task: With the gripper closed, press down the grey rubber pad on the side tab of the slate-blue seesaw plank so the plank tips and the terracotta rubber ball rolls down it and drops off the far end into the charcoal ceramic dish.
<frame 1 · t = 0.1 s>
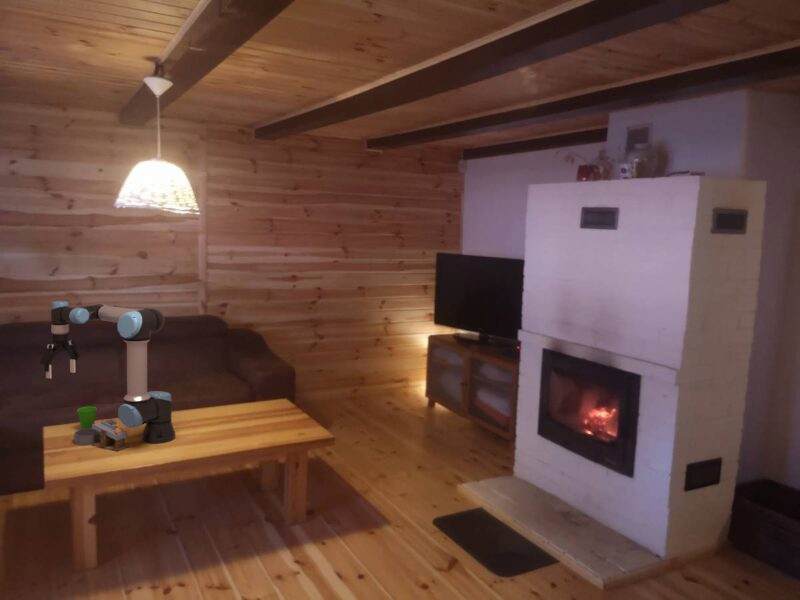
hand: (61, 375, 311), 28 cm above the table, fingers open, 13 cm apart
cup: (87, 430, 315), on the table
ball: (118, 431, 293), point 8 cm above the table, touching lever
fulcrum: (109, 446, 296), on the table
lever: (114, 427, 297), point 8 cm above the table, hinge at -12.0°, touching ball
dish: (87, 441, 301), on the table
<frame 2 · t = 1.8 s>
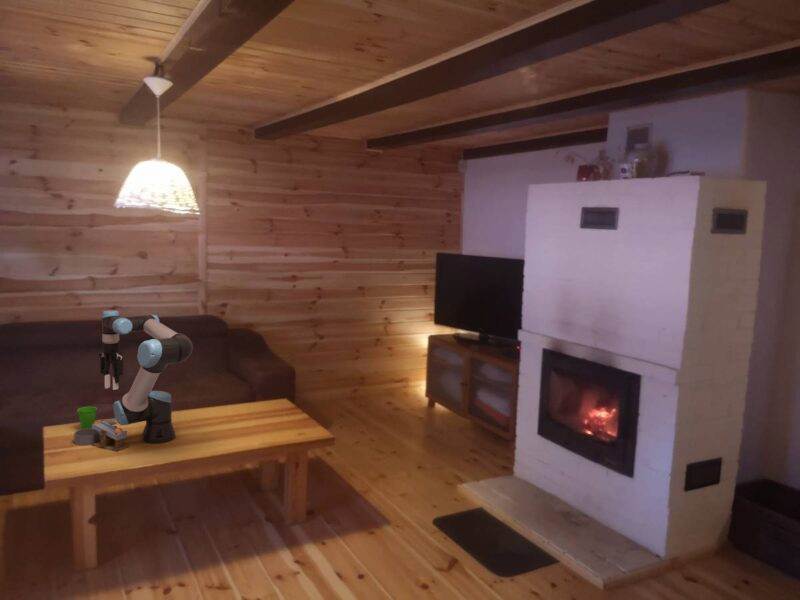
hand: (111, 388, 311), 23 cm above the table, fingers open, 4 cm apart
nothing on the table moved.
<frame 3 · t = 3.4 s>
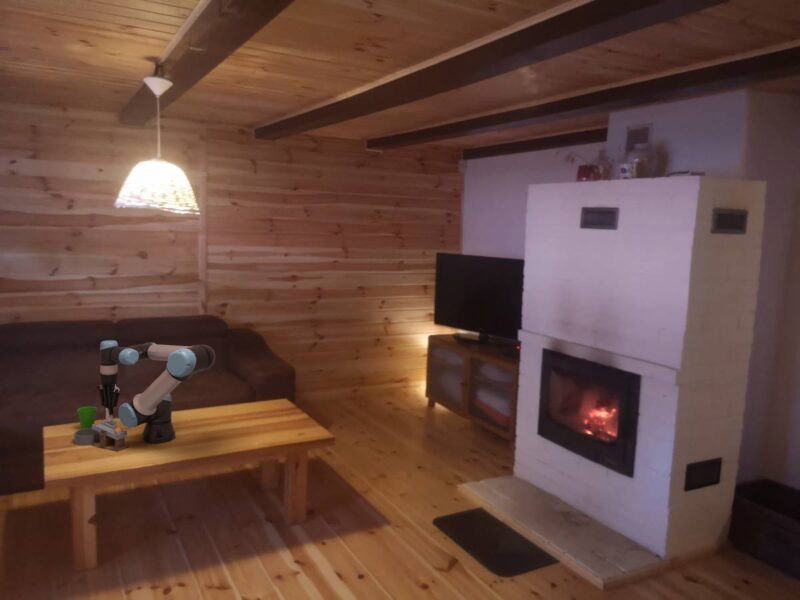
hand: (109, 420, 303), 9 cm above the table, fingers closed
lever: (114, 427, 297), point 8 cm above the table, hinge at -10.1°, touching ball, gripper
everything else where it was.
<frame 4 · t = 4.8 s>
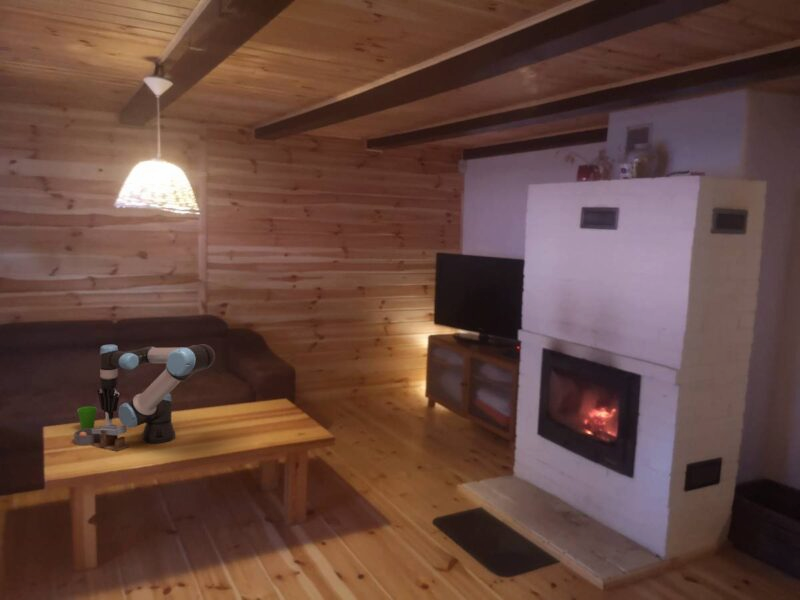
hand: (108, 424, 303), 7 cm above the table, fingers closed
ball: (82, 435, 301), point 2 cm above the table, tilted 33°, touching dish
lever: (113, 427, 298), point 8 cm above the table, hinge at 6.4°, touching gripper
everything else where it was.
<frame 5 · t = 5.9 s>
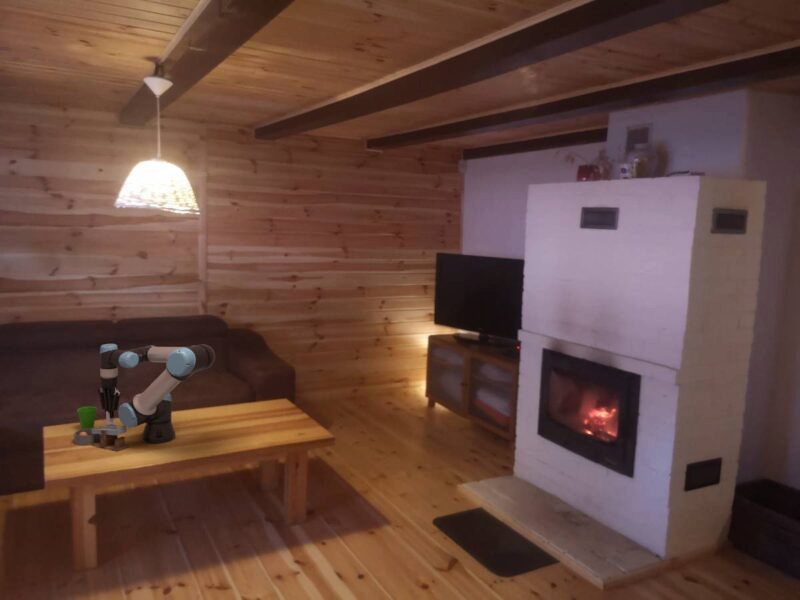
hand: (109, 424, 303), 8 cm above the table, fingers closed
ball: (83, 435, 301), point 2 cm above the table, tilted 26°, touching dish
lever: (113, 427, 298), point 8 cm above the table, hinge at 6.4°
everything else where it was.
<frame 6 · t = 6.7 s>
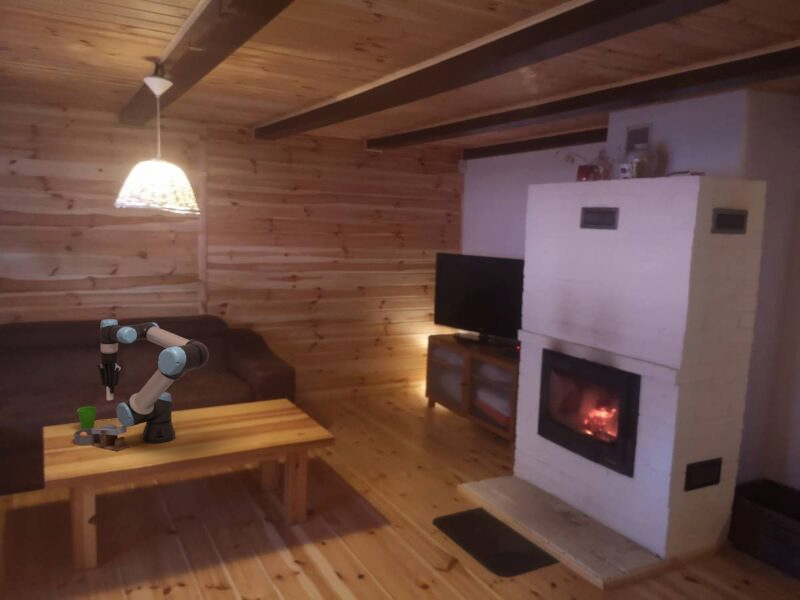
hand: (109, 399, 304), 19 cm above the table, fingers closed
nothing on the table moved.
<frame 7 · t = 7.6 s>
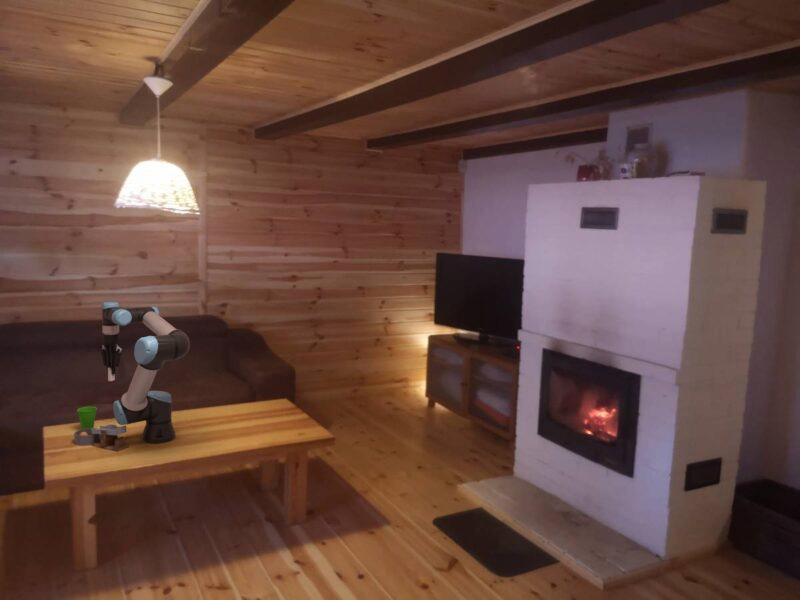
hand: (111, 380, 311), 26 cm above the table, fingers closed
ball: (83, 435, 301), point 2 cm above the table, tilted 16°, touching dish
everything else where it was.
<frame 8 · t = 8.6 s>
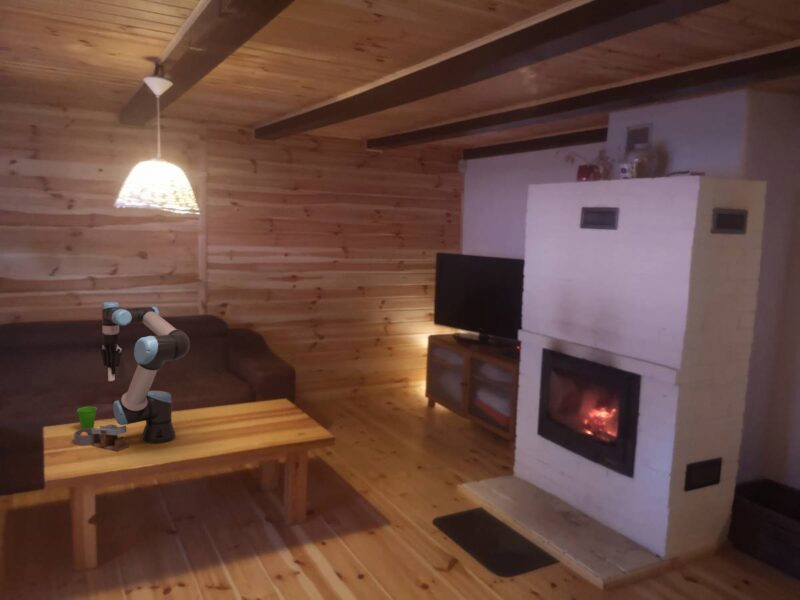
hand: (111, 380, 311), 26 cm above the table, fingers closed
ball: (83, 435, 301), point 2 cm above the table, tilted 9°, touching dish
everything else where it was.
at the end: ball inside the target area on the dish (2.4 cm from its centre), point 2.3 cm above the dish's base; ball touching dish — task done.
